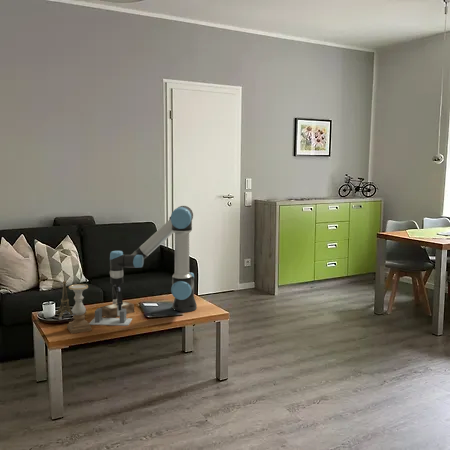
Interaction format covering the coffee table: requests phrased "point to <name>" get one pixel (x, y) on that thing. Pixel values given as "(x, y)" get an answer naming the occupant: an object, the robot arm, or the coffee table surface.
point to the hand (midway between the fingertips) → (117, 312)
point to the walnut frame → (111, 310)
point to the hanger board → (110, 319)
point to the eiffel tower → (64, 301)
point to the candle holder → (78, 311)
